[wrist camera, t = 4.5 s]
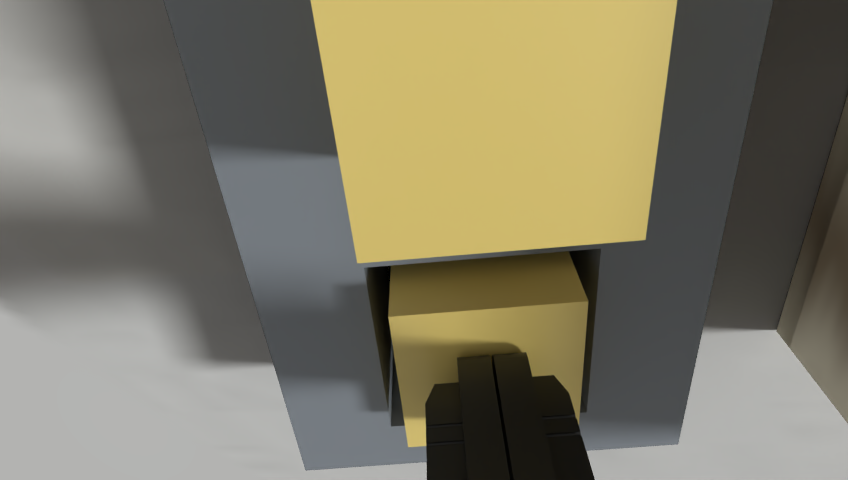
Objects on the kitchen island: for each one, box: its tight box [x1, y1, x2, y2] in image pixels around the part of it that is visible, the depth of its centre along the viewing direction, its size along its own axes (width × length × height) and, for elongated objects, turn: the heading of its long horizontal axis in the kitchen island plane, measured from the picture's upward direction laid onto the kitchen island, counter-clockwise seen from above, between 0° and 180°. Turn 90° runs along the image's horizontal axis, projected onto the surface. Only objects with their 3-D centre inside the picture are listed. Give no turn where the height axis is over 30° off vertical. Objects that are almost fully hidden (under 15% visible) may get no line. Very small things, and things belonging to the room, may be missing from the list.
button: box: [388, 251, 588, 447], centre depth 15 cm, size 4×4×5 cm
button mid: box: [311, 0, 677, 263], centre depth 9 cm, size 4×4×5 cm
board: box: [163, 0, 773, 470], centre depth 12 cm, size 22×10×4 cm, turn 5°
